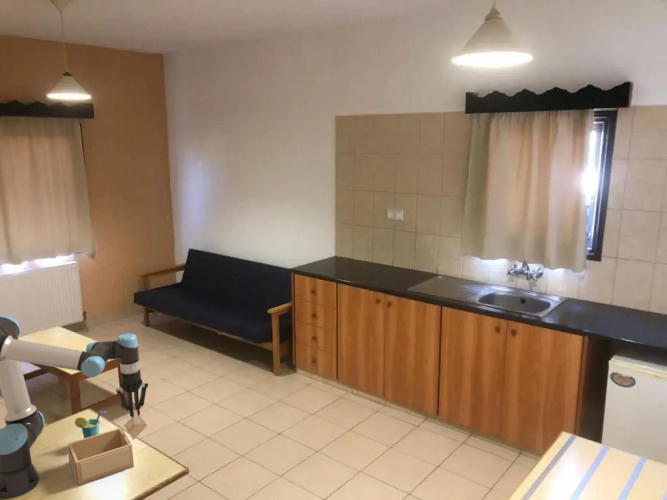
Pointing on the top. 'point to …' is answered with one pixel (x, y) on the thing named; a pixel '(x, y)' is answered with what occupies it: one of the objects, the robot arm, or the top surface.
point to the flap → (135, 427)
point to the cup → (89, 425)
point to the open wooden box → (100, 456)
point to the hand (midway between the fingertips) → (135, 422)
